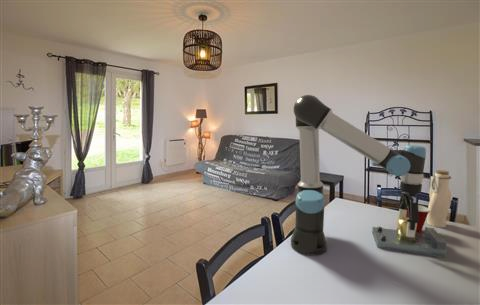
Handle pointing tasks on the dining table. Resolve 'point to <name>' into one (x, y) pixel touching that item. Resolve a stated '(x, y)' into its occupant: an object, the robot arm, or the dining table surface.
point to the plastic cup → (420, 217)
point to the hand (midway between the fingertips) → (405, 229)
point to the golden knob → (404, 229)
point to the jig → (422, 245)
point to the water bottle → (439, 199)
